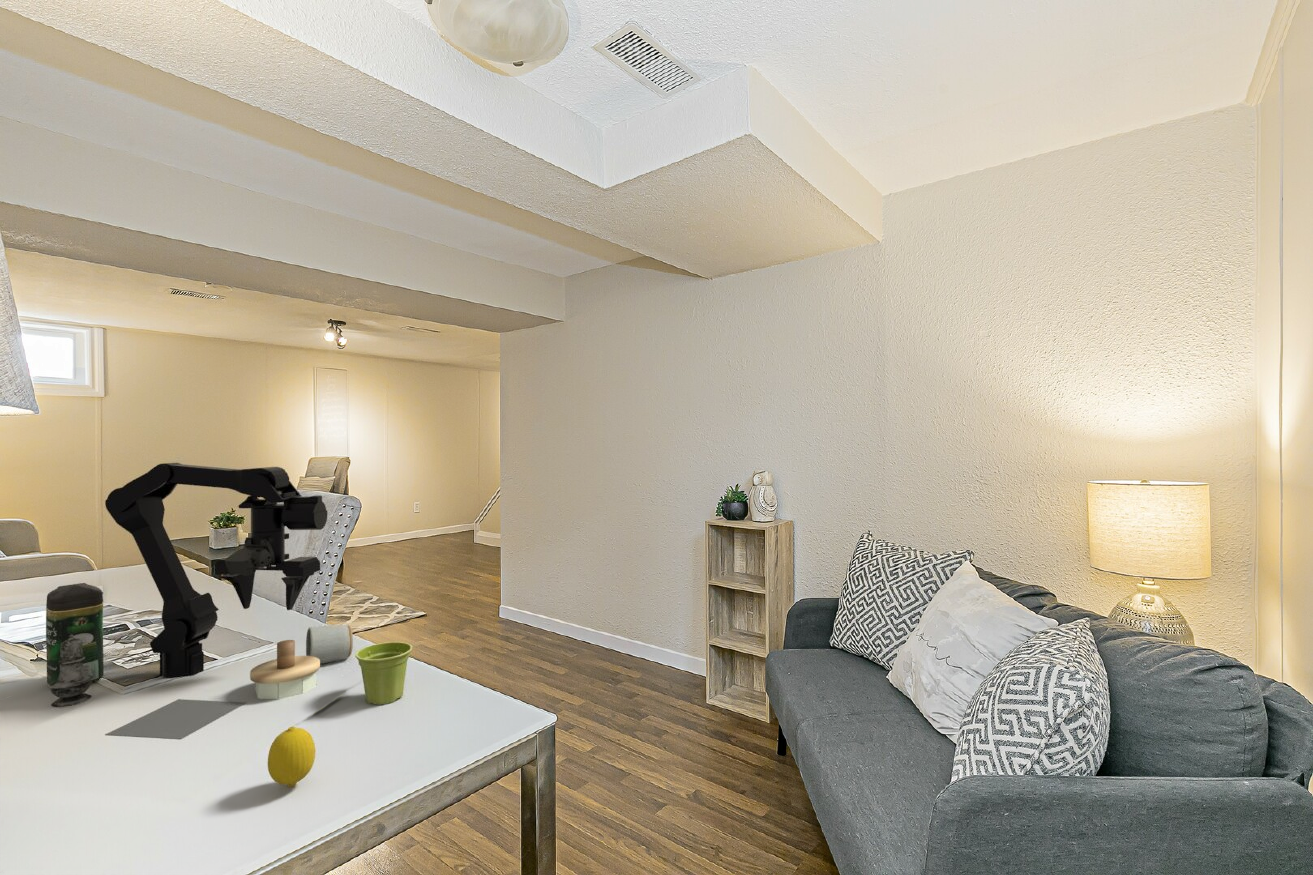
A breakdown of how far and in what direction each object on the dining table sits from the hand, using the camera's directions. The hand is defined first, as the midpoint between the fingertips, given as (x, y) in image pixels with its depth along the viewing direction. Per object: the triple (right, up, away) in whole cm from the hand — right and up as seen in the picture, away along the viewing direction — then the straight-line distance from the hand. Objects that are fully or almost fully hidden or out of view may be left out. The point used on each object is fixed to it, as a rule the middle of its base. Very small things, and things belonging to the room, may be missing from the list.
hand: (267, 609), depth 122 cm
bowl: (+9, -13, -9) cm, 18 cm away
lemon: (+28, -13, -39) cm, 50 cm away
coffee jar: (-35, -13, -3) cm, 38 cm away
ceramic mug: (+7, -13, +8) cm, 17 cm away
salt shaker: (-28, -13, -12) cm, 33 cm away
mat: (-1, -13, -21) cm, 25 cm away
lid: (+9, -9, -9) cm, 16 cm away
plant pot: (+28, -13, -11) cm, 33 cm away
